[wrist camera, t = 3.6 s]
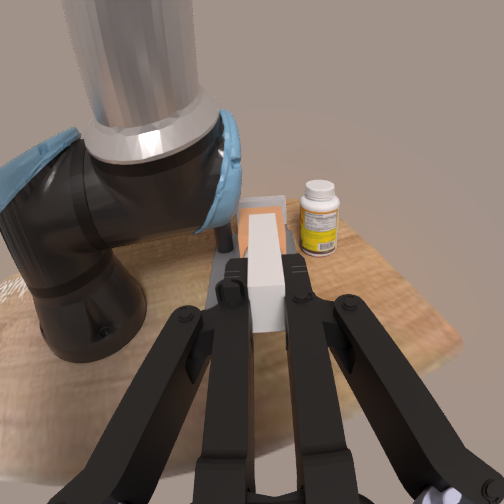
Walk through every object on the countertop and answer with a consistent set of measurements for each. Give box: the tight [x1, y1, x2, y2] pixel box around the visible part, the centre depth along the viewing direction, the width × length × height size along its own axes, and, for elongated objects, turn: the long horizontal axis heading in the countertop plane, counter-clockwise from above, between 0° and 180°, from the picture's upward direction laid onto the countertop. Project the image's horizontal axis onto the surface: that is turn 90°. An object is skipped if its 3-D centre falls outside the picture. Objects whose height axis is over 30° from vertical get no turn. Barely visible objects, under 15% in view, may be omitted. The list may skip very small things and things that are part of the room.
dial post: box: [214, 222, 234, 253], centre depth 43 cm, size 3×3×7 cm
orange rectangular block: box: [238, 206, 286, 258], centre depth 34 cm, size 5×8×9 cm, turn 0°
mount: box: [205, 195, 296, 310], centre depth 40 cm, size 12×17×8 cm
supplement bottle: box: [300, 180, 340, 257], centre depth 43 cm, size 6×6×10 cm
